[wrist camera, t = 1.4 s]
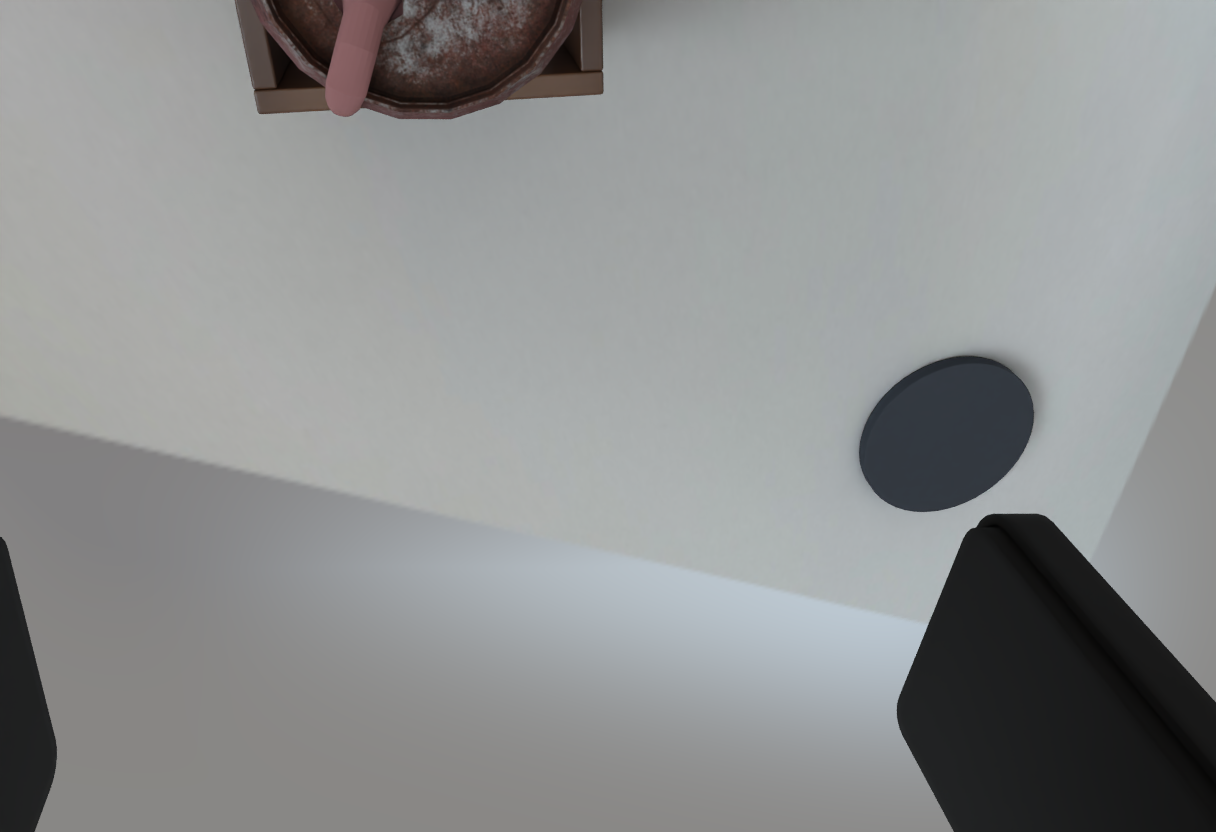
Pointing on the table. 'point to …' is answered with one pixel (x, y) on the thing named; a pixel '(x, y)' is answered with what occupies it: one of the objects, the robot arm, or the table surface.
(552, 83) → the holder
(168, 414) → the table surface
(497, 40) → the can
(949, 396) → the coaster
